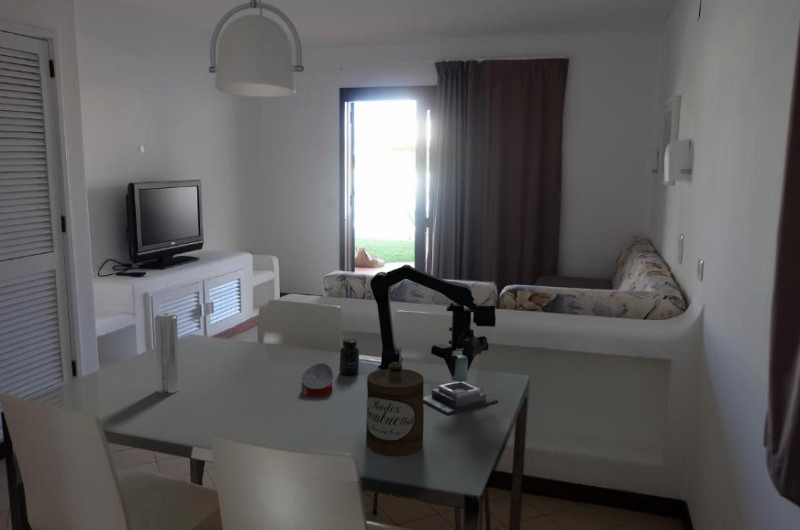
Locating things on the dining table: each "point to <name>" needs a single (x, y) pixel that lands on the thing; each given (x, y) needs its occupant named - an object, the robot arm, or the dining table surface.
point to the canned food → (317, 381)
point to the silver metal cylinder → (167, 353)
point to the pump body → (460, 369)
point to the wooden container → (395, 411)
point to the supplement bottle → (349, 358)
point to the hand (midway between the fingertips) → (459, 374)
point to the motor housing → (457, 398)
